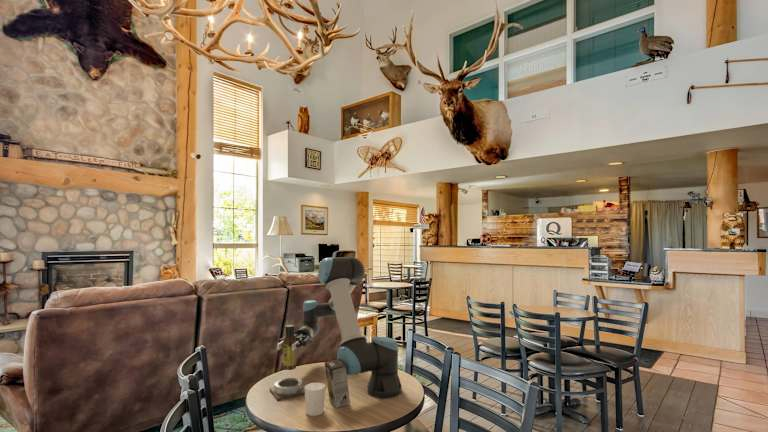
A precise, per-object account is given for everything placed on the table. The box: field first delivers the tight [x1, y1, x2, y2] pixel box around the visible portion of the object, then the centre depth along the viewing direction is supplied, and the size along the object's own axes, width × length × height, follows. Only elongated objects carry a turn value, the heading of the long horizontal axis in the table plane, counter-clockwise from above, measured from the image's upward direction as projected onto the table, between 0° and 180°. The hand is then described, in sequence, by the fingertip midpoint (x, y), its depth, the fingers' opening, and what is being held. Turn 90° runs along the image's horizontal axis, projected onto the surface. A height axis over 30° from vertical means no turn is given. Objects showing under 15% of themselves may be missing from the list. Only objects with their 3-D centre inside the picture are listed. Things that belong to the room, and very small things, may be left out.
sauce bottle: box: [282, 324, 297, 371], centre depth 192 cm, size 6×6×20 cm
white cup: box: [304, 382, 326, 417], centre depth 160 cm, size 8×8×10 cm
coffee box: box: [324, 358, 351, 409], centre depth 169 cm, size 9×6×16 cm
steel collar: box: [273, 377, 303, 395], centre depth 179 cm, size 12×12×3 cm
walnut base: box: [269, 386, 305, 402], centre depth 179 cm, size 13×13×1 cm
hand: (285, 347), depth 187 cm, fingers closed on sauce bottle, 6 cm apart
